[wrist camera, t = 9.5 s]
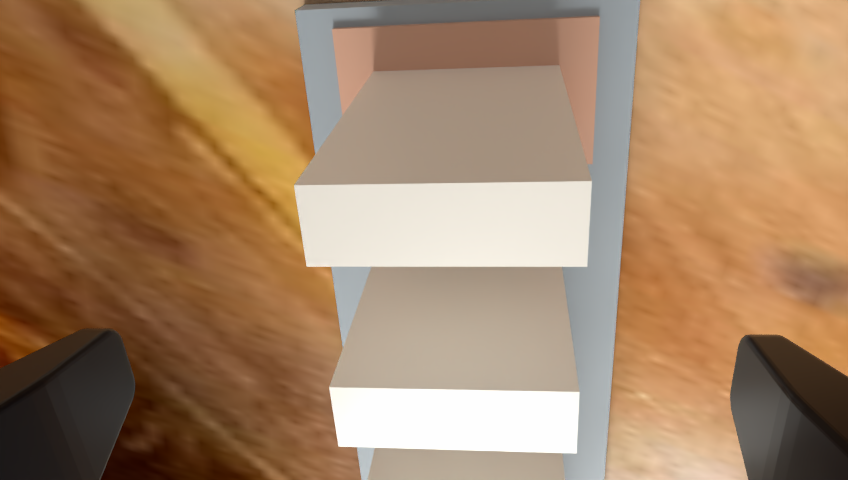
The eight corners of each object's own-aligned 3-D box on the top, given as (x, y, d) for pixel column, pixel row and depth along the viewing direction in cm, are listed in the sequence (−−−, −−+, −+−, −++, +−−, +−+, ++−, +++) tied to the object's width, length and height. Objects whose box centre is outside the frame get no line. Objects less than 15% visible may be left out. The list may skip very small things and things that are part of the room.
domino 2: (550, 380, 23) (569, 597, 16) (403, 377, 24) (360, 585, 17) (551, 341, 23) (571, 550, 16) (400, 339, 23) (353, 540, 16)
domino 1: (553, 263, 21) (576, 453, 14) (392, 264, 22) (338, 446, 15) (554, 216, 21) (579, 391, 14) (388, 218, 21) (329, 387, 14)
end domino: (557, 123, 19) (587, 266, 12) (378, 127, 20) (306, 266, 13) (559, 65, 18) (592, 181, 11) (373, 71, 19) (293, 185, 12)
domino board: (593, 570, 29) (596, 597, 28) (379, 560, 30) (375, 585, 29) (634, -13, 18) (641, -6, 17) (304, 4, 20) (293, 12, 18)
